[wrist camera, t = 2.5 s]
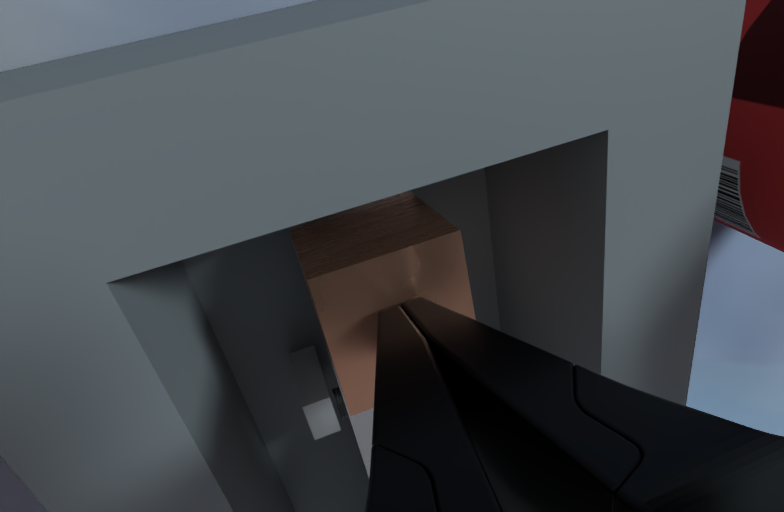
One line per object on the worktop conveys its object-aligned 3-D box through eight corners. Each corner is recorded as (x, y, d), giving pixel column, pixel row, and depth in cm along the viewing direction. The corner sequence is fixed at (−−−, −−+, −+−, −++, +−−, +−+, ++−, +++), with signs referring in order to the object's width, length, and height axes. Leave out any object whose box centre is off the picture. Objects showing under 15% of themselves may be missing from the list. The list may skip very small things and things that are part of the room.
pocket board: (567, 536, 24) (648, 657, 20) (297, 660, 22) (320, 830, 17) (557, -54, 12) (757, -77, 8) (-48, 83, 10) (-253, 161, 5)
